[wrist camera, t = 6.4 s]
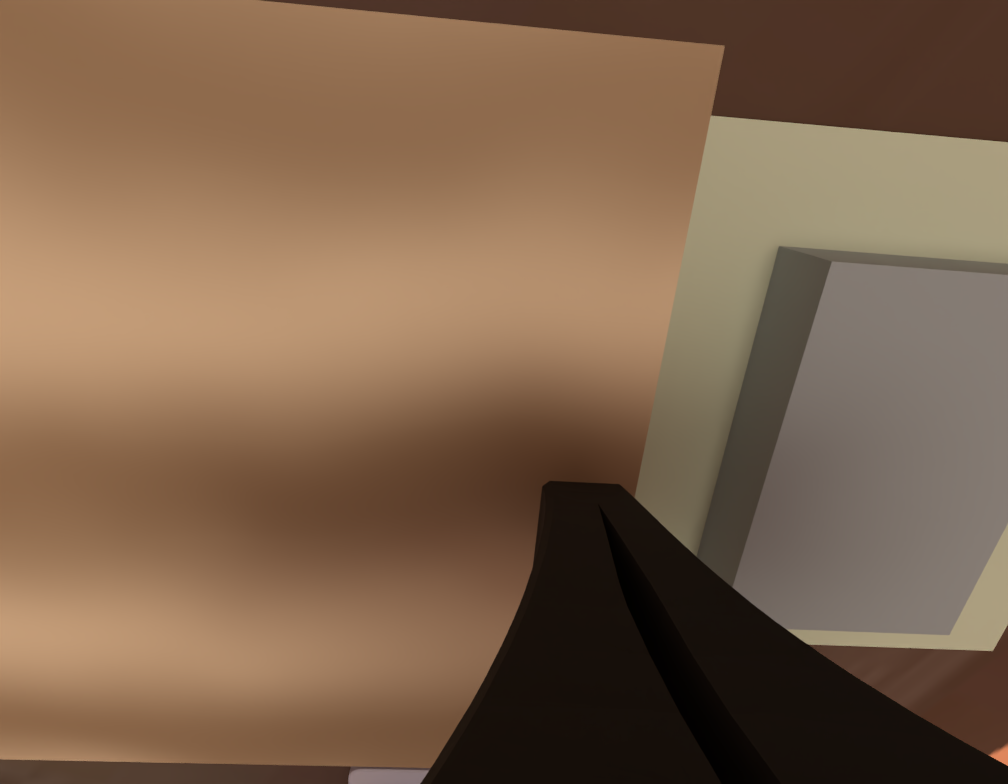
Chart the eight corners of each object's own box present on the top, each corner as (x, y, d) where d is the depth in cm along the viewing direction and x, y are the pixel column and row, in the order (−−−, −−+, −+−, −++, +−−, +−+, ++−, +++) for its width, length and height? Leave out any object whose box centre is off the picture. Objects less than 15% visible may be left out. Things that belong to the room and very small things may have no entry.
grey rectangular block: (720, 626, 14) (692, 571, 16) (949, 635, 14) (895, 579, 16) (832, 261, 10) (778, 246, 12) (1132, 284, 11) (1036, 266, 12)
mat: (981, 640, 17) (992, 650, 17) (577, 625, 17) (579, 636, 16) (1245, 166, 12) (1269, 165, 12) (665, 113, 11) (670, 111, 11)
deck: (559, 637, 17) (580, 771, 13) (86, 621, 16) (-33, 758, 12) (645, 83, 11) (724, 45, 7) (-88, 15, 10) (-407, -65, 7)
